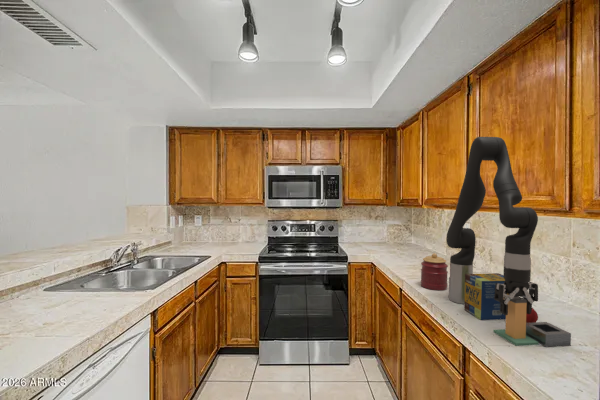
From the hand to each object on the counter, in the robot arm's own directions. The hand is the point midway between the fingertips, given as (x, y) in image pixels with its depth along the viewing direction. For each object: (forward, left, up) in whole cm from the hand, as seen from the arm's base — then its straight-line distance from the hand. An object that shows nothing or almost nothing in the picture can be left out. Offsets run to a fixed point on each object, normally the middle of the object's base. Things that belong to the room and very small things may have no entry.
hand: (515, 313), depth 106 cm
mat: (0, 0, -8) cm, 8 cm away
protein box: (-20, +6, -9) cm, 23 cm away
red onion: (-9, +13, -9) cm, 18 cm away
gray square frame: (+2, +10, -8) cm, 13 cm away
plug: (0, 0, -8) cm, 8 cm away
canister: (-57, +3, -9) cm, 58 cm away
